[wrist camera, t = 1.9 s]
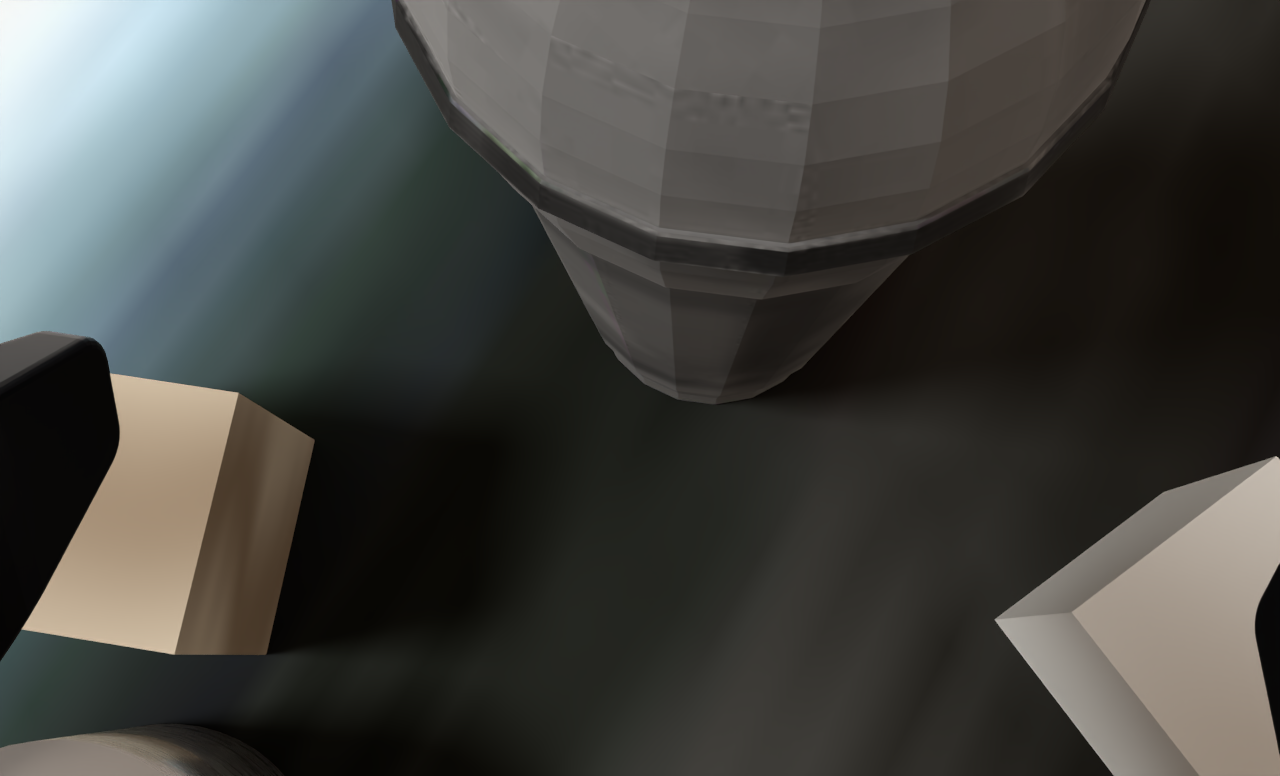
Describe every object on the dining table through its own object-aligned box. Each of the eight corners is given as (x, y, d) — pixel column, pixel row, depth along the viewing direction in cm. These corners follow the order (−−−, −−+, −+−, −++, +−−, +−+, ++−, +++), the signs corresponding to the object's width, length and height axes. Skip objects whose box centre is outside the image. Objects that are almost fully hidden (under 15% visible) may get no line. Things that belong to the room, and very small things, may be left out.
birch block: (267, 654, 20) (174, 654, 17) (56, 620, 21) (-84, 611, 17) (316, 441, 21) (238, 393, 17) (113, 409, 22) (-8, 356, 18)
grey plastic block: (1311, 674, 20) (1468, 680, 16) (1139, 811, 20) (1258, 850, 16) (1161, 492, 21) (1276, 455, 17) (993, 619, 20) (1071, 612, 16)
